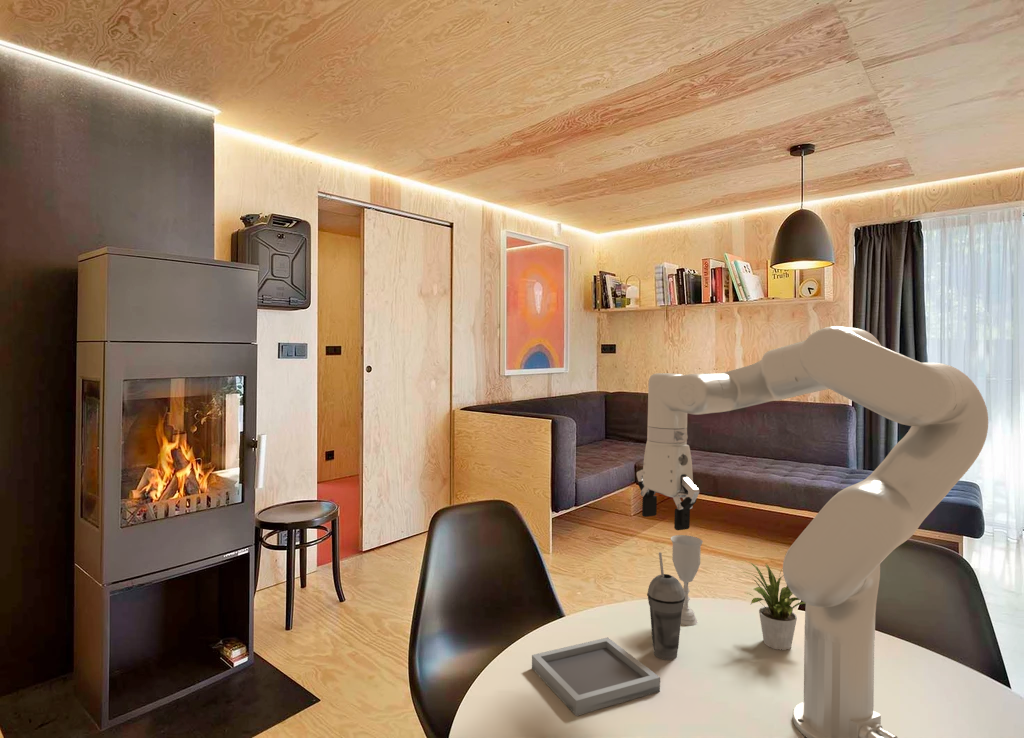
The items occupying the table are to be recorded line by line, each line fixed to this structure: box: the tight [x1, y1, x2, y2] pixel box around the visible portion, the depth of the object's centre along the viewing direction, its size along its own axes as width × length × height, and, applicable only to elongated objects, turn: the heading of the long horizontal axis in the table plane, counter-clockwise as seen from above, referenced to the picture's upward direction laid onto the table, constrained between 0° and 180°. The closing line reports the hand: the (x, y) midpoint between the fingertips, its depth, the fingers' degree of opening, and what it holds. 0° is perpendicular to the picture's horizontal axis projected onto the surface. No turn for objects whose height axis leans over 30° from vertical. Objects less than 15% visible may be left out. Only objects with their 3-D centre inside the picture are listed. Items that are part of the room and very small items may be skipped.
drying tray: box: [531, 637, 661, 717], centre depth 105 cm, size 16×17×2 cm
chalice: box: [670, 534, 704, 626], centre depth 129 cm, size 7×7×18 cm
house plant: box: [741, 560, 806, 651], centre depth 119 cm, size 14×14×16 cm
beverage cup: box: [646, 551, 685, 661], centre depth 114 cm, size 7×7×20 cm
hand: (665, 522), depth 114 cm, fingers open, 9 cm apart
